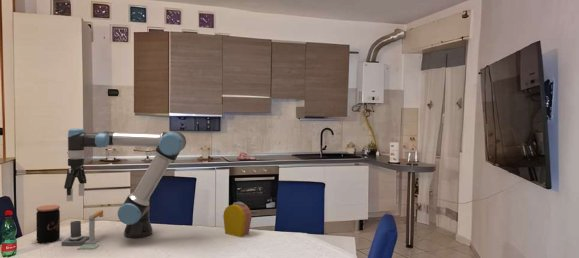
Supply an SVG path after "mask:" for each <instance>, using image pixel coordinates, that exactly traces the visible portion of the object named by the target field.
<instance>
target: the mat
mask: <svg viewBox="0 0 579 258" xmlns="http://www.w3.org/2000/svg"><path fill="white" fill-rule="evenodd" d="M99 246H100V243H98V244H97V243H95V244H83V245H82V246H78V248H77V249H78V250H96V249H97V248H98V247H99Z"/></svg>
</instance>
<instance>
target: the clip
mask: <svg viewBox="0 0 579 258" xmlns="http://www.w3.org/2000/svg"><path fill="white" fill-rule="evenodd" d="M102 217H104V210H103V209H100V210H98V211H96V212H95V213H93V214H92V215H89V216H88V221H90V220H95V219H97V218H102ZM95 221H96V220H95Z"/></svg>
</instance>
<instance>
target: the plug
mask: <svg viewBox="0 0 579 258" xmlns="http://www.w3.org/2000/svg"><path fill="white" fill-rule="evenodd" d="M69 225H70V236H69V237H70V239H71V241H80V240H81V238H82V236H83V235H82V221H81V220H74V221H70V224H69Z"/></svg>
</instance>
